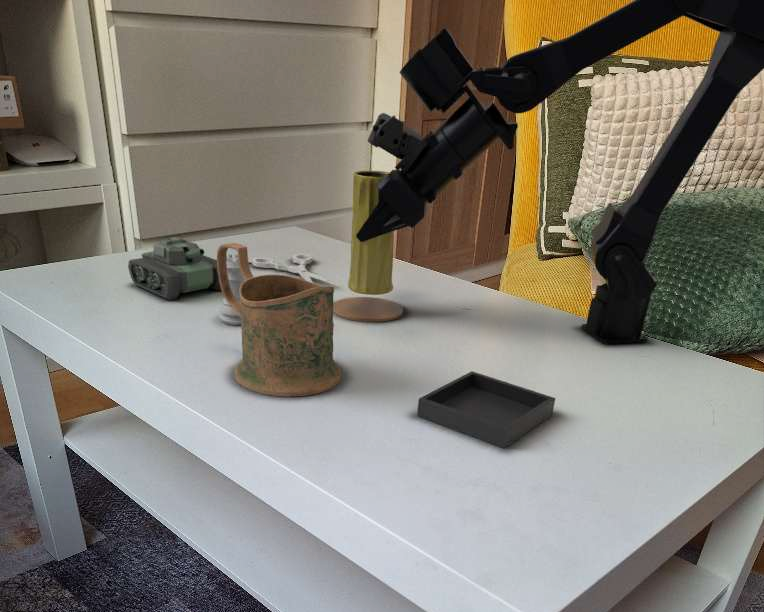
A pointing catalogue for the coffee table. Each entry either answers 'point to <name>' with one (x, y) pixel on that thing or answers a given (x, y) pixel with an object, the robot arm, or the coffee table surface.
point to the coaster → (367, 309)
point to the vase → (374, 254)
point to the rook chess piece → (235, 282)
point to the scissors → (299, 269)
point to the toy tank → (174, 269)
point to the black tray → (486, 408)
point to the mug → (282, 331)
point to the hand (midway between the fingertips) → (362, 234)
